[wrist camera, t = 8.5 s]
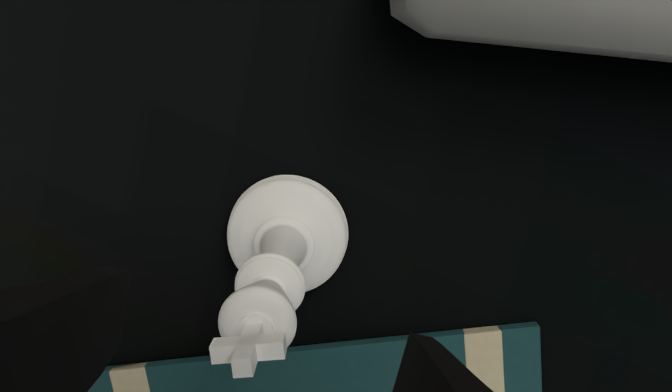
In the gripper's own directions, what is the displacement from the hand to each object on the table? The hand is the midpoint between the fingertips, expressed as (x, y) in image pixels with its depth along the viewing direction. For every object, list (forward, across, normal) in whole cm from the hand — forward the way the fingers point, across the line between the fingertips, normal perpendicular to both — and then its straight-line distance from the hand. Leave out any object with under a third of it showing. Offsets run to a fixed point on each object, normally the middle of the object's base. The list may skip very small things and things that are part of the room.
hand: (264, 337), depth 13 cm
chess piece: (+8, 0, 0) cm, 8 cm away
